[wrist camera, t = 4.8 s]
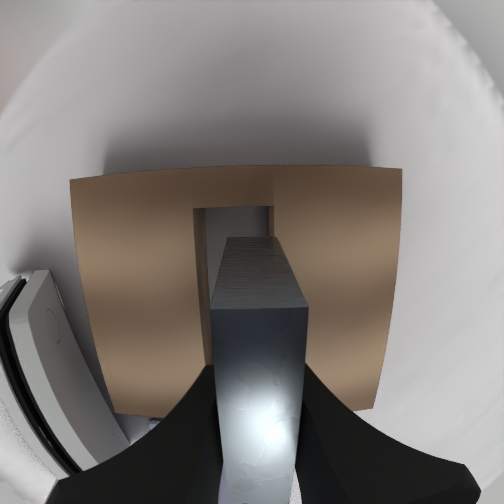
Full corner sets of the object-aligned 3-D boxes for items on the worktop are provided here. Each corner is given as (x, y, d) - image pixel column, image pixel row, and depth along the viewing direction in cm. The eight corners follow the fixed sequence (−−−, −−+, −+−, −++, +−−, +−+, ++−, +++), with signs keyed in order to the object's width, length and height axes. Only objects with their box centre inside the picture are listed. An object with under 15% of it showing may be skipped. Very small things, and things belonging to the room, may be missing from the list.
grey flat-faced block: (274, 393, 15) (288, 508, 8) (234, 395, 15) (230, 510, 8) (276, 236, 13) (309, 306, 6) (227, 237, 13) (209, 309, 6)
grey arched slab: (4, 277, 19) (-58, 324, 10) (54, 261, 20) (7, 303, 11) (86, 443, 23) (84, 525, 14) (130, 434, 25) (141, 518, 15)
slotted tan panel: (355, 373, 21) (372, 408, 17) (132, 378, 21) (115, 412, 17) (372, 168, 18) (402, 168, 14) (102, 176, 18) (69, 179, 14)
